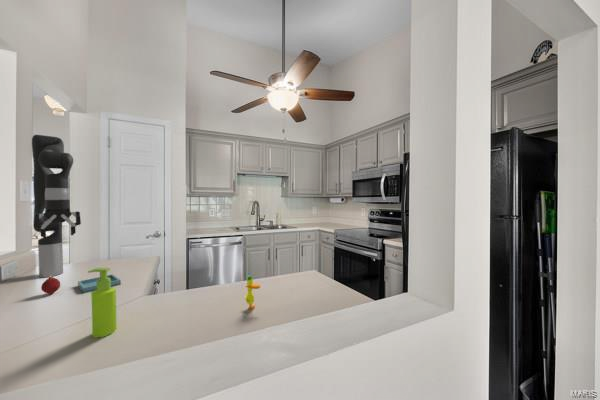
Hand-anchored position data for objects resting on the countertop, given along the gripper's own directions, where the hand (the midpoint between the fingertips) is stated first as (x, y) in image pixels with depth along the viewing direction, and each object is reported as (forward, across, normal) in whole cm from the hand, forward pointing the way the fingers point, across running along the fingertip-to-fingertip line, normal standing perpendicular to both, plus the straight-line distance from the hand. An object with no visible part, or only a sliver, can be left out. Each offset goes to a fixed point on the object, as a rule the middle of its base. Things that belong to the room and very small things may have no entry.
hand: (58, 236), depth 106 cm
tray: (+26, -14, -1) cm, 29 cm away
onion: (+26, +2, -4) cm, 26 cm away
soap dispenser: (+25, -4, +52) cm, 58 cm away
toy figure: (+25, -44, +75) cm, 90 cm away
